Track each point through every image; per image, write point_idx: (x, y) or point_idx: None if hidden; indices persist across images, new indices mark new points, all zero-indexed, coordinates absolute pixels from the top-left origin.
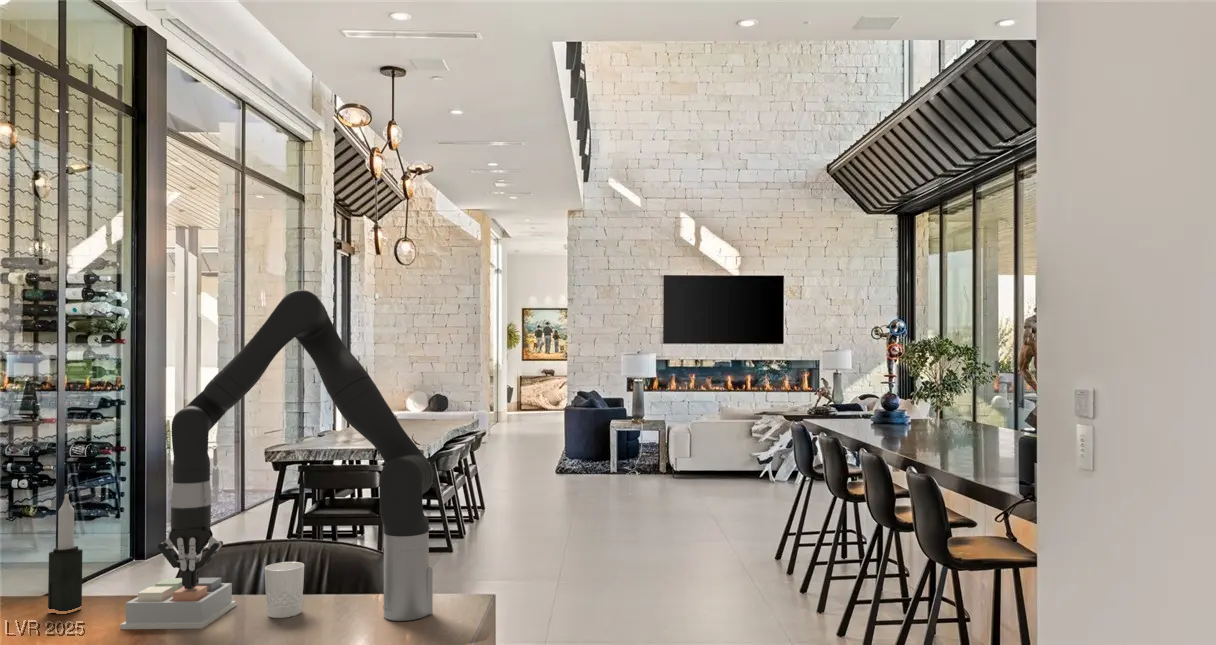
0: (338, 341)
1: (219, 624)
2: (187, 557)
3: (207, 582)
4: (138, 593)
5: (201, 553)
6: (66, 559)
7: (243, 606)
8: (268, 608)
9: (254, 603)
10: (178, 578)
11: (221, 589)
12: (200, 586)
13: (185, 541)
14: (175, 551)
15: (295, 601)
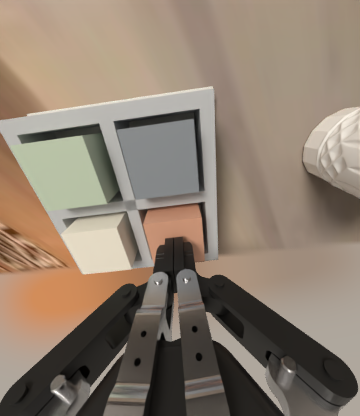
0: None
1: (231, 215)
2: (168, 332)
3: (181, 184)
4: (84, 273)
5: (206, 316)
6: None
7: (231, 95)
8: (318, 176)
9: (249, 60)
10: (54, 147)
11: (215, 167)
12: (186, 222)
13: None
14: (90, 342)
15: None
